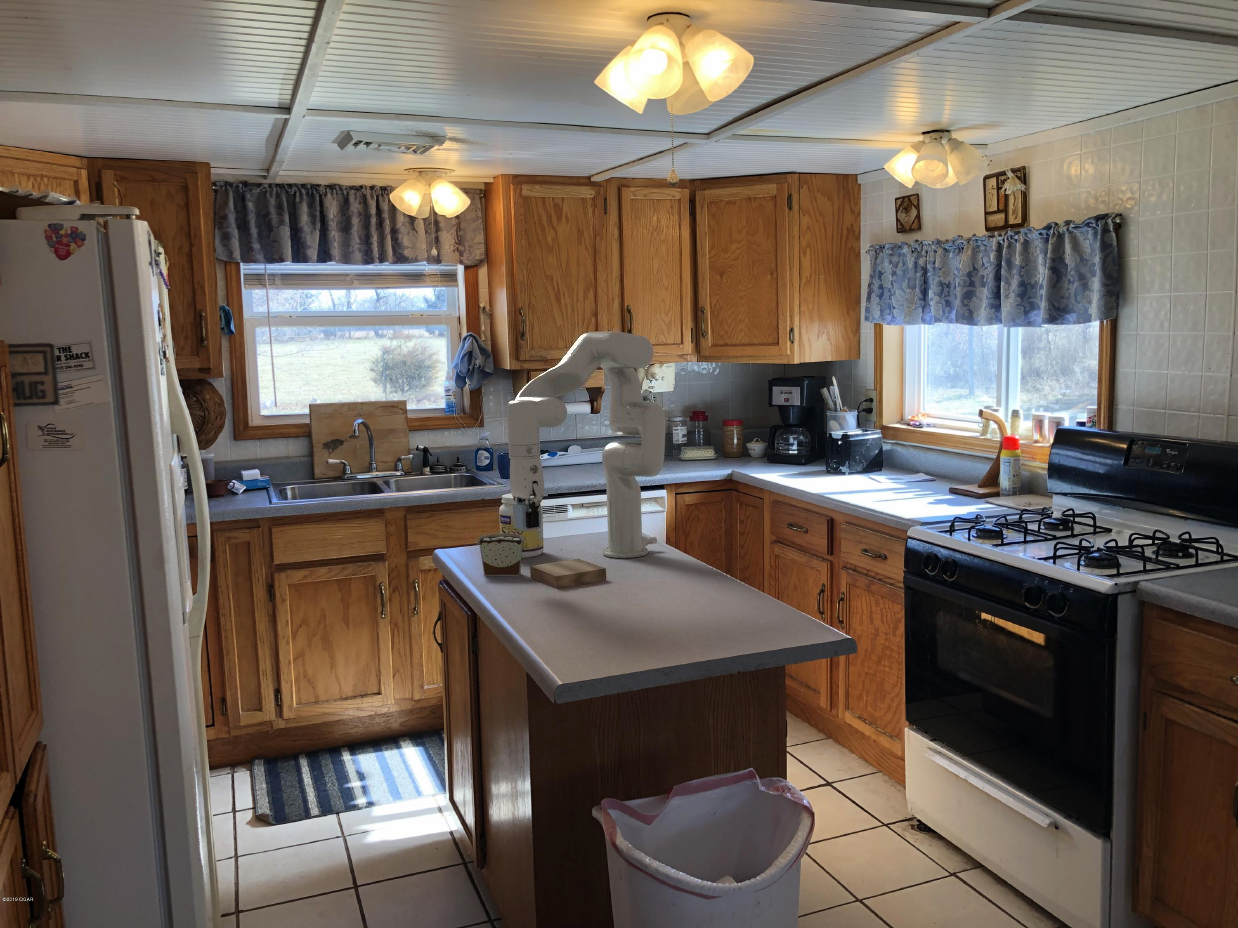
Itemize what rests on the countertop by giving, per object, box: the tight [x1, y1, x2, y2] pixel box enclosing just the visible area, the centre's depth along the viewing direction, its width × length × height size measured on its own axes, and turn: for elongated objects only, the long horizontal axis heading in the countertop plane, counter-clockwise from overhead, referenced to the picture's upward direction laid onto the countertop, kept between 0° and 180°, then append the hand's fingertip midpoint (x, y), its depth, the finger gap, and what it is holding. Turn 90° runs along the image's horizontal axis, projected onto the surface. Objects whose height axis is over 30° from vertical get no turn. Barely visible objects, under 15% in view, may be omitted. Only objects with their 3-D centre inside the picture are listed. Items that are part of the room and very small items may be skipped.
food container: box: [476, 532, 525, 577], centre depth 257 cm, size 12×6×10 cm, turn 84°
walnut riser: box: [529, 558, 607, 589], centre depth 249 cm, size 14×14×3 cm
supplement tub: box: [498, 492, 545, 559], centre depth 279 cm, size 12×12×17 cm
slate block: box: [513, 501, 541, 531], centre depth 240 cm, size 5×5×6 cm
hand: (527, 525), depth 241 cm, fingers closed on slate block, 5 cm apart
